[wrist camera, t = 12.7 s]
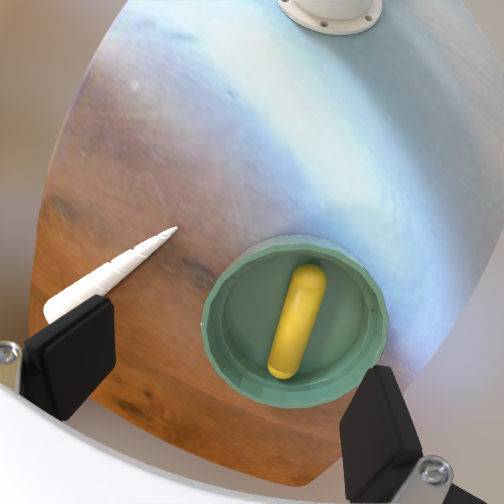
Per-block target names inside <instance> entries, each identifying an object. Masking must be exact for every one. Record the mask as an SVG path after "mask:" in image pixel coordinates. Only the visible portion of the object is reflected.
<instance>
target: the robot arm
mask: <svg viewBox="0 0 504 504" xmlns="http://www.w3.org/2000/svg"><path fill="white" fill-rule="evenodd" d="M277 1H278V4H279V6H280V7H281V9H282V10H283V11H284V12H285V14H286V15H287V16H288V17H290V18H291V19H292V20H294V21H295V22H297V23H298V24H300V25H302V26H304V27H306V28H309V29H311V30H314V31H317V32H321V33H325V34H332V35H350V34H357V33H360V32H363V31H365V30H367V29H369V28H371V27H372V26H373V25H374V24H375V23H376V22H377V20H378V19H379V17H380V15H381V12H382V0H277ZM322 26H323V27H322ZM24 343H25V348H24V349H23V350H22V349H21V347H20V346H19V345H18V344H17V343H15V342H12V341H0V504H347V503H323V502H308V501H297V500H288V499H281V498H273V497H267V496H260V495H255V494H249V493H244V492H240V491H234V490H230V489H226V488H221V487H218V486H213V485H210V484H206V483H203V482H199V481H196V480H192V479H189V478H185V477H182V476H179V475H176V474H173V473H170V472H167V471H165V470H162V469H159V468H156V467H154V466H151V465H149V464H145V463H143V462H141V461H138V460H136V459H134V458H131V457H129V456H127V455H125V454H122V453H120V452H118V451H116V450H113V449H111V448H109V447H107V446H105V445H103V444H101V443H99V442H97V441H95V440H93V439H91V438H89V437H87V436H85V435H84V434H82V433H80V432H78V431H76V430H74V429H73V428H71V427H69V426H68V425H66V424H64V423H62V421H63V420H64V421H67V420H68V419H69V418H70V417H71V416H72V415H73V414H74V413H75V411H76V410H77V409H78V408H79V407H80V406H81V404H82V403H83V402H84V401H85V400H86V399H87V398H88V397H89V395H90V394H91V393H92V392H93V391H94V390H95V389H96V388H97V386H98V385H99V384H100V383H101V382H102V381H103V380H104V379H105V378H106V376H107V375H108V374H109V373H110V372H111V371H112V370H113V368H114V367H115V364H116V353H115V331H114V305H113V304H112V303H111V301H110V299H109V298H106V297H103V296H101V295H98V294H95V295H93V296H92V297H90V298H89V299H87V300H85V301H84V302H82V303H81V304H79V305H78V306H76V307H75V308H73V309H72V310H70V311H69V312H67V313H66V314H64V315H63V316H61V317H60V318H58V319H57V320H55V321H54V322H52V323H51V324H49V325H48V326H46V327H45V328H44V329H42V330H41V331H39V332H38V333H36V334H35V335H33V336H32V337H31V338H29V339H28V340H26V341H25V342H24ZM339 429H340V438H341V448H342V458H343V468H344V479H345V494H346V499H347V500H350V504H487V503H485V502H484V501H482V500H481V499H479V498H477V497H475V496H473V495H472V494H470V493H468V492H466V491H465V490H463V489H461V488H459V487H458V486H456V485H454V484H453V483H452V481H453V476H454V475H453V470H452V467H451V465H450V464H449V463H448V462H447V461H446V460H445V459H443V458H442V457H439V456H435V455H427V456H423V453H422V447H421V444H420V441H419V438H418V436H417V433H416V430H415V427H414V424H413V422H412V419H411V417H410V414H409V411H408V409H407V406H406V404H405V401H404V399H403V396H402V394H401V391H400V389H399V386H398V384H397V382H396V379H395V377H394V374H393V372H392V370H391V368H390V367H388V366H380V365H374V366H373V367H372V368H369V369H368V370H367V371H366V373H365V375H364V377H363V379H362V381H361V383H360V385H359V387H358V389H357V391H356V393H355V395H354V397H353V399H352V401H351V403H350V404H349V406H348V408H347V410H346V412H345V413H344V415H343V417H342V419H341V421H340V426H339Z"/></svg>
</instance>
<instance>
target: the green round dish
mask: <svg viewBox="0 0 504 504" xmlns="http://www.w3.org/2000/svg"><path fill="white" fill-rule="evenodd" d="M304 264H315V265H317V266H319V267H320V268H321V269H322V270H323V271H324V272H325V274H326V278H327V286H326V290H325V293H324V296H323V299H322V302H321V305H320V308H319V312H318V315H317V318H316V321H315V324H314V326H313V329H312V332H311V335H310V338H309V341H308V344H307V347H306V349H305V352H304V355H303V358H302V360H301V363H300V366H299V368H298V370H297V372H296V373H295V374H294V375H293V376H292V377H290V378H287V379H279V378H276V377H274V376H273V375H272V374H271V373H270V372H269V370H268V367H267V361H268V357H269V354H270V351H271V347H272V344H273V341H274V337H275V334H276V330H277V327H278V324H279V320H280V317H281V313H282V310H283V306H284V303H285V299H286V296H287V292H288V288H289V285H290V281H291V277H292V275H293V273H294V271H295V270H296V269H297V268H298V267H300V266H301V265H304ZM388 321H389V316H388V312H387V309H386V305H385V301H384V297H383V294H382V291H381V290H380V288H379V287H378V285H377V284H376V283H375V281H374V280H373V279H372V277H371V276H370V274H369V273H368V272H367V270H366V269H365V268H364V267H363V266H362V264H361V263H360V262H359V261H358V260H357V259H356V257H355V256H354V255H352V254H351V253H349V252H348V251H346V250H345V249H343V248H342V247H340V246H339V245H337V244H335V243H334V242H332V241H330V240H326V239H322V238H318V237H314V236H310V235H306V234H298V235H283V236H275V237H272V238H270V239H267V240H265V241H262V242H260V243H257V244H255V245H252V246H250V247H249V248H248V249H247V250H245V251H244V252H243V253H242V254H241V255H240V256H238V257H237V258H236V259H235V260H234V261H233V262H231V263H230V264H229V266H228V267H227V268H226V269H225V271H224V272H223V273H222V274H221V276H220V277H219V278H218V280H217V282H216V284H215V285H214V287H213V289H212V290H211V292H210V294H209V296H208V297H207V299H206V301H205V304H204V310H203V316H202V322H201V333H202V338H203V344H204V349H205V353H206V355H207V357H208V359H209V360H210V362H211V364H212V366H213V367H214V369H215V371H216V373H217V374H218V375H219V376H220V377H221V378H222V379H223V380H224V381H225V382H226V383H227V384H228V385H229V386H231V387H232V388H233V389H234V390H235V391H236V392H238V393H240V394H242V395H244V396H246V397H248V398H250V399H252V400H254V401H256V402H258V403H260V404H265V405H269V406H274V407H279V408H285V409H287V408H310V407H314V406H318V405H321V404H324V403H328V402H331V401H334V400H336V399H338V398H340V397H341V396H343V395H345V394H346V393H348V392H350V391H351V390H353V389H354V388H356V387H357V386H359V385H360V383H361V381H362V379H363V377H364V375H365V373H366V371H367V370H368V369H369V368H372V367H373V366H374V365H377V363H378V361H379V358H380V356H381V354H382V352H383V350H384V348H385V345H386V341H387V332H388Z"/></svg>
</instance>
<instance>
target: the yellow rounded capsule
mask: <svg viewBox="0 0 504 504" xmlns="http://www.w3.org/2000/svg"><path fill="white" fill-rule="evenodd" d="M326 286H327V278H326V274H325V272H324V271H323V270H322V269H321V268H320V267H319V266H317V265H315V264H304V265H301V266H300V267H298V268H297V269H296V270H295V271H294V273H293V275H292V277H291V281H290V285H289V288H288V292H287V296H286V299H285V303H284V306H283V310H282V313H281V317H280V320H279V324H278V327H277V330H276V334H275V337H274V341H273V344H272V347H271V351H270V354H269V357H268V361H267V367H268V370H269V372H270V373H271V374H272V375H273V376H274V377H276V378H279V379H287V378H290V377H292V376H293V375H294V374H295V373H296V372H297V370H298V368H299V366H300V363H301V360H302V358H303V355H304V352H305V349H306V347H307V344H308V341H309V338H310V335H311V332H312V329H313V326H314V324H315V321H316V318H317V315H318V312H319V308H320V305H321V302H322V299H323V296H324V293H325V290H326Z"/></svg>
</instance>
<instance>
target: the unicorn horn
mask: <svg viewBox="0 0 504 504" xmlns="http://www.w3.org/2000/svg"><path fill="white" fill-rule="evenodd" d="M177 228H178V227H174V228H171V229H168V230H166V231H164V232H162V233H160V234H158V236H157V237H156V236H154V237H152V238H150V239H148V240H146V241H144V242H143V243H141V244H139V245H137V246H135V247H134V250H131V249H130V250H128V251H126V252H125V253H123V254H121V255H119V256H118V257H116V258H114V259H113V260H111V261H112V263H109V262H108V263H106V264H104V265H103V266H101V267H99V268H98V269H96V270H94V271H93V272H91V274H88V275H86V276H85V277H83V278H82V279H80V280H79V281H77V282H75V283H74V284H73V285H71V286H69V287H68V288H66V289H65V290H63V291H62V292H60V293H59V294H57V295H56V296H54V297H53V298H51V299H50V300H48V301H47V303H46V304H45V306H44V314H45V318H46V320H47V321H48V323H49V324H51V323H52V322H54V321H55V320H57V319H58V318H60V317H61V316H63V315H64V314H66V313H67V312H69V311H70V310H72V309H73V308H75V307H76V306H78V305H79V304H81V303H82V302H84V301H85V300H87V299H89V298H90V297H92V296H93V295H95V294H98V295H101V296H104V295H105V294H106V293H107V292H108V291H109V290H111V289H112V288H113V287H114V286H115V285H116V284H118V283H119V282H120V281H121V280H122V279H123V278H124V277H126V276H127V275H128V274H129V273H130V272H131V271H132V270H134V269H135V268H136V267H137V266H138V265H139V264H140V263H142V262H143V261H144V260H145V259H146V258H147V257H148V256H149V255H150V254H151V253H153V252H154V251H155V250H156V249H157V248H158V247H160V246H161V245H162V244H163V243H164V242H165V241H166V240H167V239H168V238H169V237H171V236H172V234H173V233H174V232H175V231H176V230H177Z"/></svg>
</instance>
